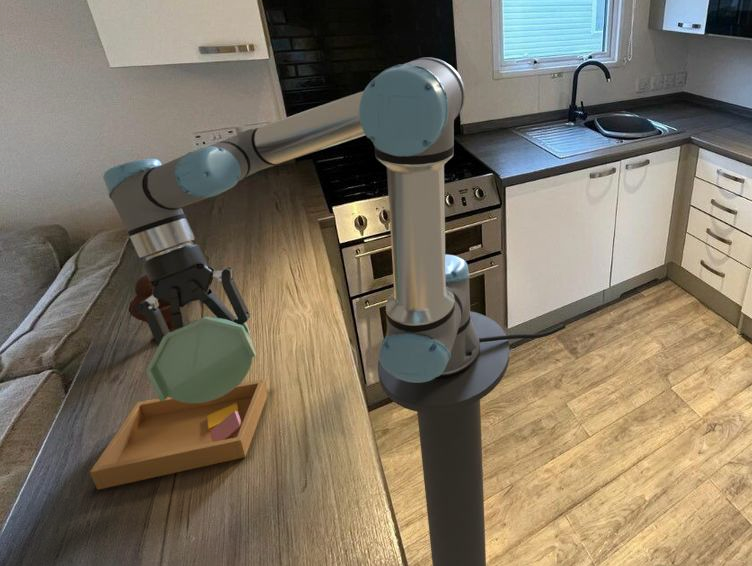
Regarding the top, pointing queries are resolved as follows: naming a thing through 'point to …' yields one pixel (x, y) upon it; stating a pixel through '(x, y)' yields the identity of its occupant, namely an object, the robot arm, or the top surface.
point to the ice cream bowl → (144, 292)
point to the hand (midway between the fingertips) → (226, 374)
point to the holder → (176, 437)
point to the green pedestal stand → (201, 360)
